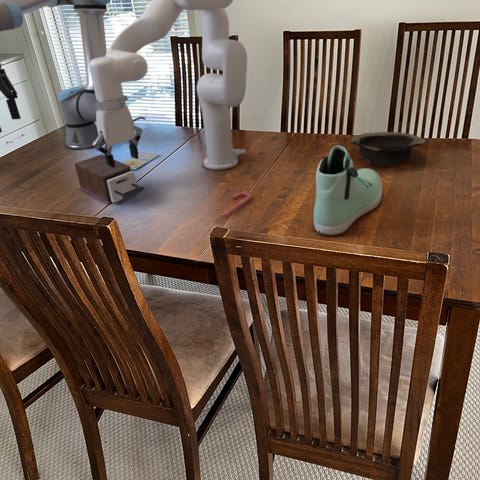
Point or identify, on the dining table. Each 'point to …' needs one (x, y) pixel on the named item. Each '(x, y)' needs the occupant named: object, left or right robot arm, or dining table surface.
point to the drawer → (122, 186)
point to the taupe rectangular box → (98, 176)
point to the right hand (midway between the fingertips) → (123, 161)
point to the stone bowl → (386, 147)
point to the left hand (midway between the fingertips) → (7, 125)
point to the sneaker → (343, 192)
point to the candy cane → (237, 206)
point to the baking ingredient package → (139, 160)
